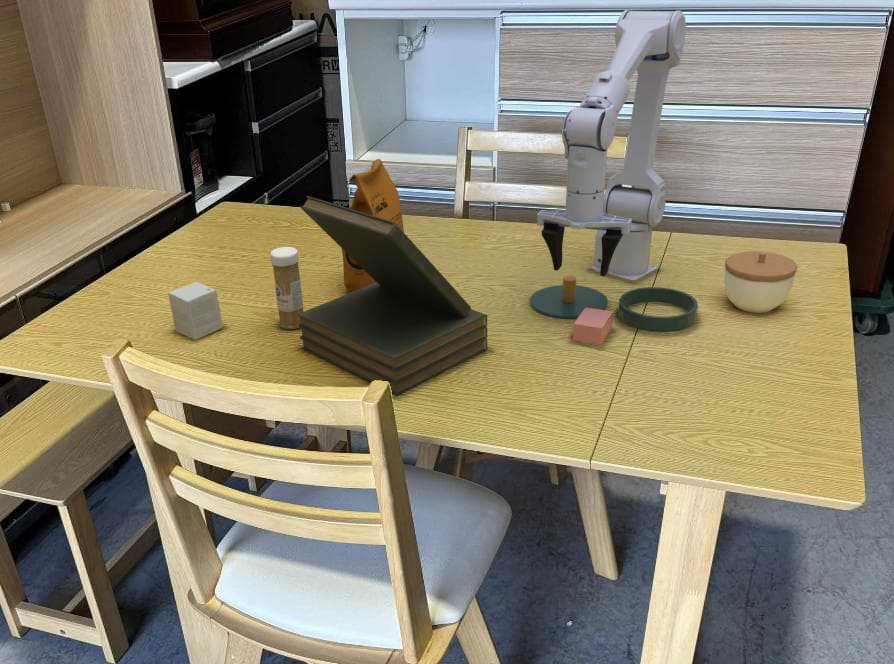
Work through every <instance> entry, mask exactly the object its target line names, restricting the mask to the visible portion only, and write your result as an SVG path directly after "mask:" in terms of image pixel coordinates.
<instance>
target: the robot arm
mask: <svg viewBox="0 0 894 664" xmlns="http://www.w3.org/2000/svg"><path fill="white" fill-rule="evenodd" d="M614 31H615V32H614V42H615V48H616V49H615V51H614V53H613V56H612V58H611V60H610V63H609V65H608V68H607V70H605V71H601V72H600V73H598V74H597V75H596V76H595V77H594V80H593V81H592V83H591V85H590V87H589V88H588V90H587V92H586V94H585V96H584V97H583V99H582V101H581V103H580V104H579V106H576V107H574V108H573V109H570V110H569V111H568V112H567V114H566V115H565V117H564V120H563V125H562V130H561V138H562V143H563V146H564V155H563V156H564V158H565V159H566V160H567V170H566V171H567V172H566V189H565V190H566V192H565V209H564V210H545V209H541V210H540V211H539V212H538V213H537V215H536V217H537V218H536V226H539V227H543V228H542V230H541V237H542V239H543V240H544V242H545V244H546V246H547V248H548V251H549V254H550V257H551V261H552V266H553V271H557V272H558V271H559V270H560V269H561V268H562V266H563V245H564V244H563V243H564V234H565V228H570V229H577V230H583V229H585V230H594V231H596V234H595V238H594V251H593V252H594V254H593V266H591V267H590V268H591V269H592V270H596V271H599V272H600V275H599V276H600V277H606V276H607V274H610V275H613V276H616V277H621V278H623V279H627V280H631V281H636V280H638V279H640V278H642V277H643V276H646V275H647V274H649V273H651V272H653V271H657V270H659V267H658V266H656V265H652V264H650V256H651V255H650V254H651V244H652V234H653V228H654V227H656V226H657V225H658V224H660V222H661V221H662V219H663V216H664V213H665V209H666V191H667V185H666V184H667V183H666V182H665V180H664V179H663V178H662V177H661V176H660V175H659V174H658V173H657V172H656V171H655V170H654V162H655V154H656V150H657V142H658V136H659V130H660V124H661V118H662V111H663V106H664V100H665V95H666V94H665V93H666V88H667V82H668V78H669V74H670V70H671V69H673V68H675V67H677V66H679V65H680V63H681V59H682V56H683V51H684V45H685V38H686V34H687V25H686V16H685V15H684V13H683V11H682V10H674V11H666V10H665V11H662V10H656V11H655V10H654V11H653V10H631V9H625V10H624V11H622V13H621V14H620V15H619V17H618V19H617V21H616V24H615V30H614ZM636 72H637V79H636V86H635V92H634V99H633V105H632V111H631V118H630V119H631V120H630V124H629V131H628V137H627V145H626V152H625V158H624V165H623V168H622V169H621V170H619V171H618V172H616V173H614V174H613V175H611V176H610V177H609V178H608V180H607V183H606V173H607V172H606V171H607V157H608V149H609V148H610V146H611V145H612V143H613V140H614V138H615V134H616V128H617V127H618V122H619V120H618V115H619V114H620V112H621V111H622V108H623V107H624V105H625V103H626V101H627V99H628V98H629V95H630V93H631V86H630V82H629V81H630V80H631V78H632V77H633V75H634V74H635V73H636ZM605 185H606V186H605ZM605 187H606V189H605Z"/></svg>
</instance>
